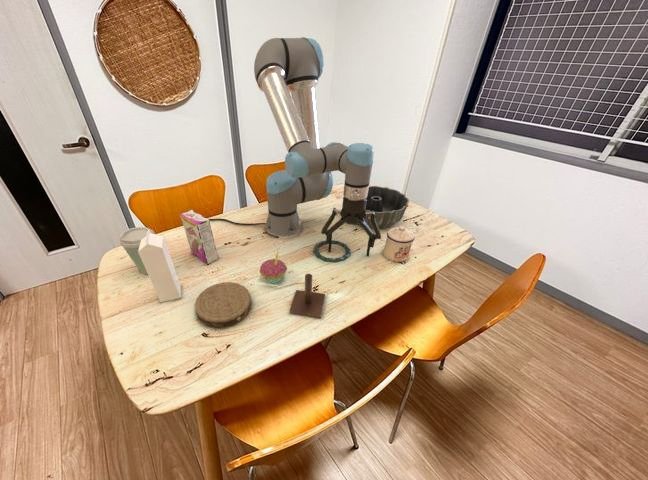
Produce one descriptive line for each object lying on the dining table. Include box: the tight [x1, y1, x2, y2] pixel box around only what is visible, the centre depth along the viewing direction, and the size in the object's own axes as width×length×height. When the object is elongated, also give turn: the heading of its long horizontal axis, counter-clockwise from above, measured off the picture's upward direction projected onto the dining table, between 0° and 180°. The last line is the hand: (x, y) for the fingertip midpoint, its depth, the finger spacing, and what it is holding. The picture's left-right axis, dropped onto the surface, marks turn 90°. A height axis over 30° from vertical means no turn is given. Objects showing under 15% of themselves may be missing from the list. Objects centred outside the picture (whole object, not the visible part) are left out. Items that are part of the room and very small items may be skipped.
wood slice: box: [194, 281, 252, 329], centre depth 81 cm, size 16×16×3 cm
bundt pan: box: [357, 185, 410, 229], centre depth 120 cm, size 26×26×10 cm
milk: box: [138, 228, 182, 303], centre depth 80 cm, size 6×6×22 cm
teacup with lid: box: [383, 225, 416, 263], centre depth 98 cm, size 12×9×12 cm
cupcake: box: [259, 251, 288, 285], centre depth 88 cm, size 9×8×12 cm
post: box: [289, 273, 326, 319], centre depth 79 cm, size 9×9×11 cm
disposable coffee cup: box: [118, 226, 156, 275], centre depth 93 cm, size 11×11×15 cm
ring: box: [312, 239, 352, 264], centre depth 103 cm, size 14×14×2 cm
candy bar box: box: [179, 209, 219, 265], centre depth 98 cm, size 11×5×16 cm, turn 47°
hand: (348, 252), depth 101 cm, fingers open, 13 cm apart
